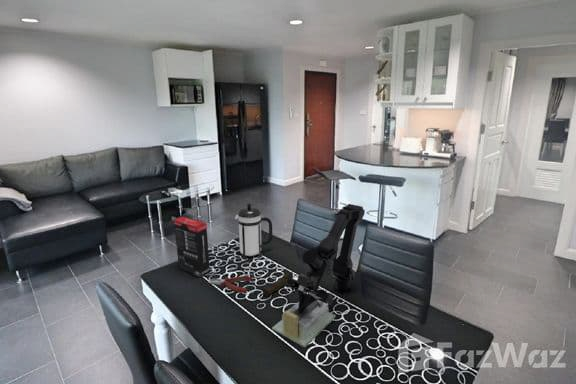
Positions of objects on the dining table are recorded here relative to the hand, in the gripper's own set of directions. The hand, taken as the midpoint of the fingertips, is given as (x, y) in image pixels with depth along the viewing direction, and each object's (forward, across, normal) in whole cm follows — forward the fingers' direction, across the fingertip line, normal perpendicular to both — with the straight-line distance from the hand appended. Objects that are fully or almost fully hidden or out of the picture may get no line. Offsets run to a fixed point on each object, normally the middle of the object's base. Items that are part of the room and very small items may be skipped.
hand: (299, 312), depth 117 cm
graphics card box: (+4, -67, +6) cm, 68 cm away
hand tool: (-7, -24, +17) cm, 30 cm away
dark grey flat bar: (-2, 0, +3) cm, 4 cm away
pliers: (+1, -44, +10) cm, 45 cm away
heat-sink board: (+2, 0, +8) cm, 8 cm away
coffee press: (-19, -58, +29) cm, 67 cm away
